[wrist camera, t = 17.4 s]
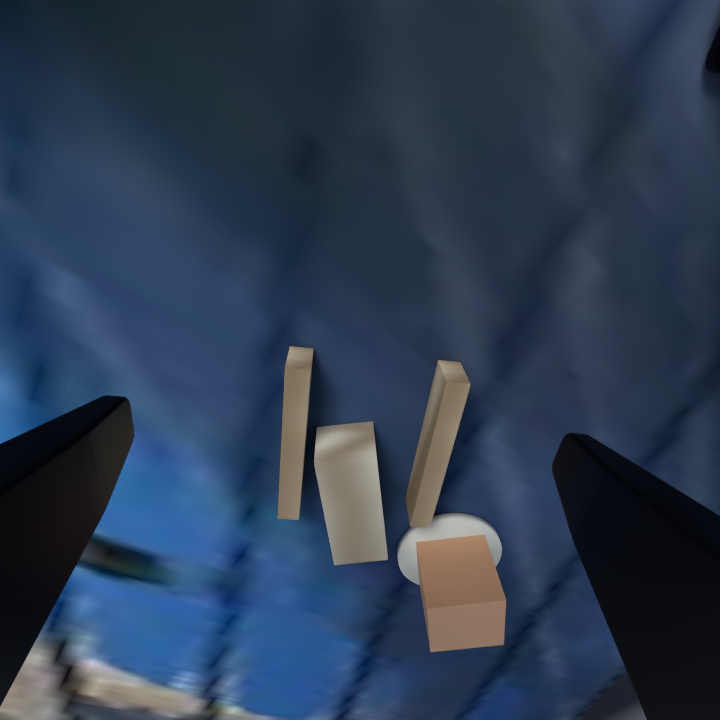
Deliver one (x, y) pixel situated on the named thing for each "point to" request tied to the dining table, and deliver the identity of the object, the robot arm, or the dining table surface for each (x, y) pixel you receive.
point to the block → (460, 593)
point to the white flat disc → (444, 529)
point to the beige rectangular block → (351, 492)
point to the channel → (430, 452)
